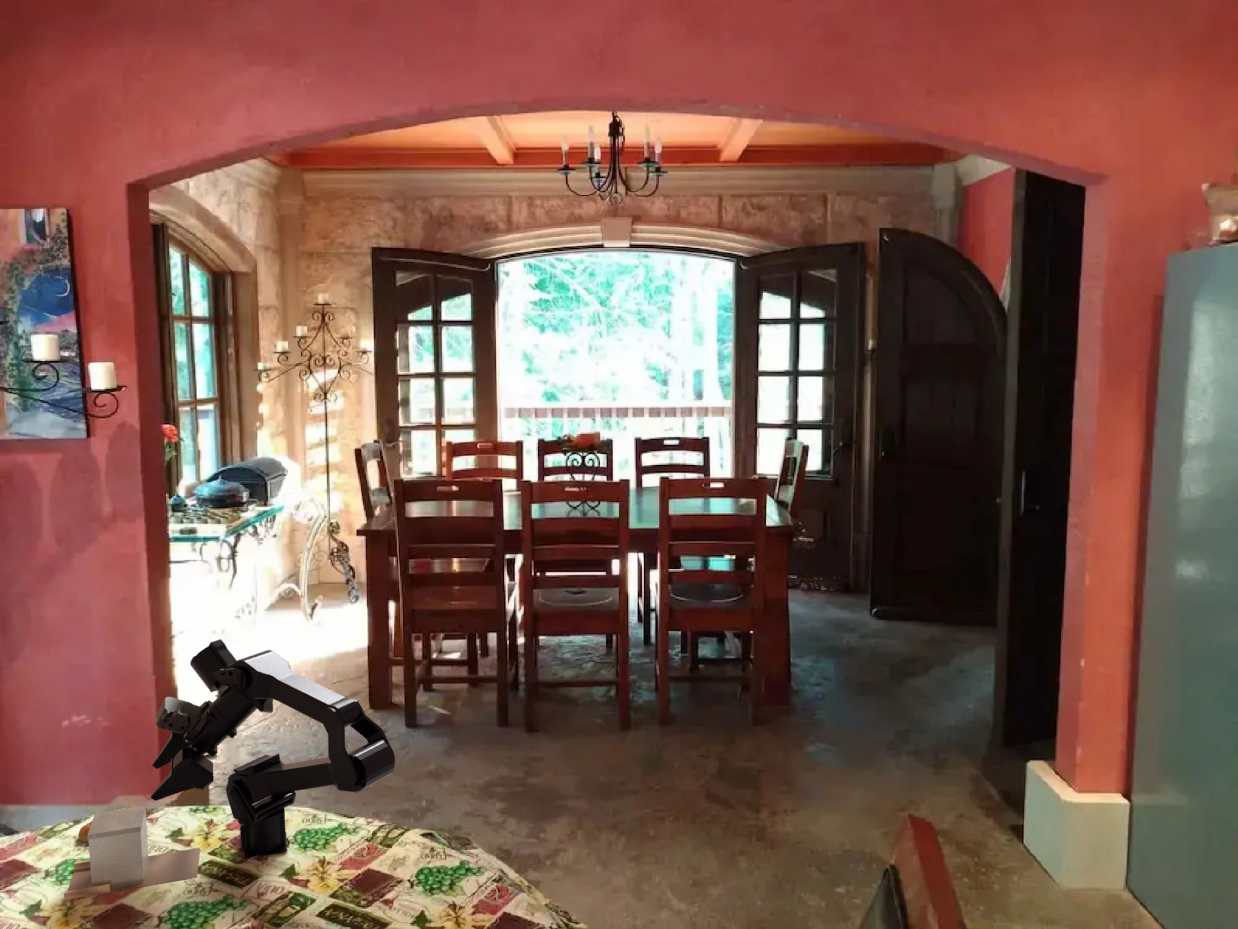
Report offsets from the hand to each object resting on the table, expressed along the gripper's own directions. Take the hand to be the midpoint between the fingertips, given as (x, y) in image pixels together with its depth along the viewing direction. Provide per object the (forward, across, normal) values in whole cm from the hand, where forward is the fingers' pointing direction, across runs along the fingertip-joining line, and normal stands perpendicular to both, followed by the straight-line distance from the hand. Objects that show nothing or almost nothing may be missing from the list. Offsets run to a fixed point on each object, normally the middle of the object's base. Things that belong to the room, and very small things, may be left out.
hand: (153, 782), depth 157 cm
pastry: (+14, -8, +5) cm, 17 cm away
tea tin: (+11, +8, +4) cm, 14 cm away
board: (+10, +8, +6) cm, 14 cm away
